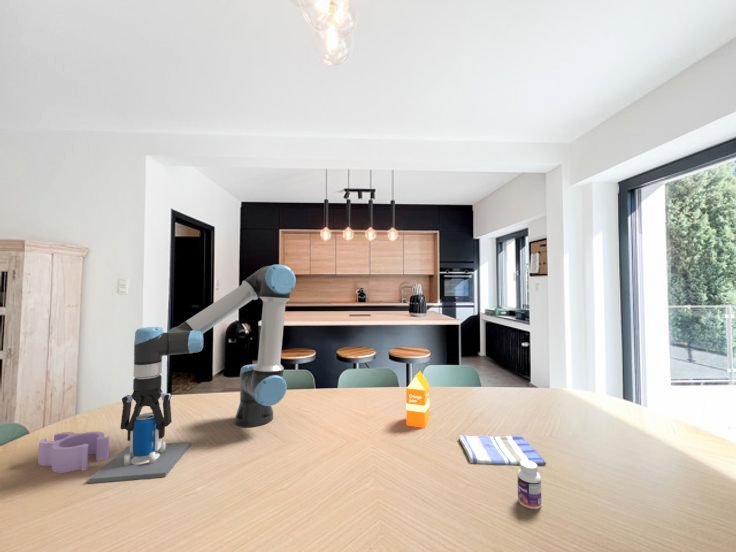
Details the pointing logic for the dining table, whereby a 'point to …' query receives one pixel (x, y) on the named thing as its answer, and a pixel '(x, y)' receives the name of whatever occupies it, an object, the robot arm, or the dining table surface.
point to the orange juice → (417, 401)
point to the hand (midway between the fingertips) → (145, 449)
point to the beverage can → (144, 435)
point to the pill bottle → (529, 485)
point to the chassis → (141, 464)
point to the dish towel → (499, 450)
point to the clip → (72, 450)
